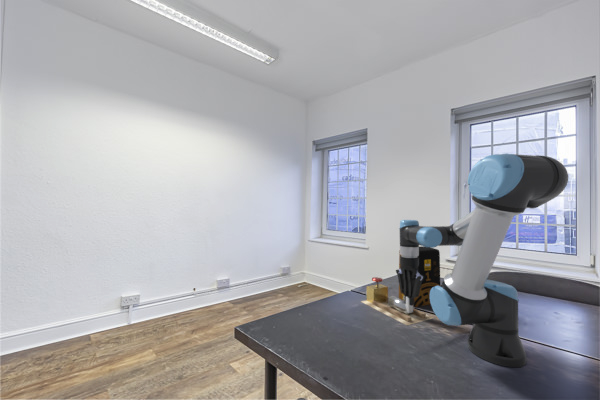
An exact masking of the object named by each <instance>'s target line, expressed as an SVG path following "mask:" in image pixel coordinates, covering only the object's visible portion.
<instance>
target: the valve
mask: <svg viewBox="0 0 600 400" xmlns="http://www.w3.org/2000/svg"><path fill="white" fill-rule="evenodd" d="M371 281H373V282H375V284H372V285H366V290H365V296H366V300H367V301H369V302H371V303H372V301H378V302H380V303H381V302H386V298H389V286H387V285H385V284H382V283H381V282H383V278H382V277H378V276H377V277H376V276H374V277H372V278H371Z"/></svg>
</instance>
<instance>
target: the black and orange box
mask: <svg viewBox="0 0 600 400" xmlns="http://www.w3.org/2000/svg"><path fill="white" fill-rule="evenodd" d="M398 252H399V253H398V255H399V257H398V258H399V259H398V260H399V261H398V269H400V267H401V265H400V256H401V255H400V249H399V251H398ZM440 253H441V252H440V250H439V249H437V248H435V247H434V248H431V247H425V246H419V256H418V258H419V266H418V270H419V274H420V275H421V276H424V279H423V280H422V283H421V288H420V292H419V297H415V298H414V305H413V308H417V307H424V306H431V303H430V290H431V289H432V288H433V287H435V286H441V257H440V256H441V255H440ZM398 298H400V299H402V300H404V301H405V296H404V294H403V293H401V291H400V286H399V285H398Z"/></svg>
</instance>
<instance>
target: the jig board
mask: <svg viewBox="0 0 600 400" xmlns="http://www.w3.org/2000/svg"><path fill="white" fill-rule="evenodd" d="M388 298H389V297H388ZM388 298H386V302H381V303H380V302H378V301H372V303H371V302H369V301H367V299H366V300H365V299H364V300H360V302H361V303H362V304H365V305H366V306H368V307H371V308H372V309H374V310H376V311H378V312H380V313H382V314H384V315H385V316H388V317H389V318H391V319H394V320H395V321H397V322H400V323H401V324H403V325H405V326H410V325H414V324H417V323H422V322H425V321H428V320H432V319H435V317H434V316H431V315H428V314H427V313H426V312H423V311H420V310H418V309H416V308H415V307H413V312H412V314H410V315H407V314H405V313H403V312H401V311H399V310H396V309H394V308H392V307H390V306H389V305H388Z"/></svg>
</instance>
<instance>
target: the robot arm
mask: <svg viewBox="0 0 600 400" xmlns="http://www.w3.org/2000/svg"><path fill="white" fill-rule="evenodd" d="M568 182H569V172H568V170H567V168H566V166H565V165H564V164H563V163H562V162H560V160H558V159H555V158H554V157H550V156H546V155H539V154H538V155H531V154H515V153H502V154H501V153H500V154H499V153H498V154H490V155H486V156H485V157H483V158H481V159H480V160H478V161H477V162H476V163H475V164H474V165H473V166H472V168H471V169H470V171H469V174H468V178H467V186H468V191H469V193H471V195H472V197H471V201H472V202H473V204H474V206H475V208H474V210H472V211H471V212H469V213H468V214H466V215H465V216H463V217H461V218H460V219H458V220H457V221H455V222H454V223H452V224H450V225H448V226H447V225H444V226H434V225H433V226H431V225H430V226H425V225H420V223H419V221H418V220H417V219H401V220H400V222H399V228H398V229H399V250H400V255H401V256H400V265H401V267H400V269H399V268H398V269H396V270H395V272H396V276H397V279H398V287H399V286H400V291H401V293H403V294H404V296H405V303H406V312H407V313H411V312H413V308H414V307H413V305H414V298H415V297H419V292H420V288H421V283H422V280H423V279H424V276H421V275H420V274H419V270H418V266H419V258H418V256H419V247H420V246H421V247H431V248H434V249H435V248H437V247H438V246H439V247H440V246H441V247H443V246H445V247H446V246H454V247H455V246H457V247H460V250H459V252H458V255H457V258H456V260H455V263H454V266H453V269H452V272H451V273H447V274H445V275H444V276H443V279H442V282H441V284H440V286H435V287H433V288H432V289H431V290H430V303H431V304H430V306H431V308H432V311H433V313H434V315H435V316H436V318H437V319H438V320H439V321H440V322H441V323H443V324H445V325H447V326H455V327H458V326H468V325H472V328H471V330H470V332H469V335H468V337H467V348H468V349H469V351H470V352H471V353H472V354H474V355H475V356H477V357H478V358H480V359H483V360H485V361H487V362H489V363H492V364H496V365H498V366H503V367H509V368H521V367H524V366H526V364H527V353H526V351H525V348H524V346H523V342H522V341H521V338H520V335H519V301H520V300H519V299H518V297H519V295H518V290H517V289H516V287H514V286H513V285H510V284H508V283H505V282H501V281H497V280H492V279H488V278H489V275H490V272H491V270H492V268H493V265H494V264H495V261H496V259H497V256H498V254H499V252H500V249H501V247H502V245H503V243H504V240H505V237H506V236H507V233H508V231H509V229H510V226H511V224H512V222H513V218H514V217H515V216H519V215H521V214H523V213H525V211H526V210H527V209H532V210H533V209H534V210H535V209H537V208H539V207H540V206H542V205H545V204H546V203H548V202H551V201H552V200H554V199H555V198H556V197H557V198H558V196H559V195H561V194H562V193H563V192H564V190H565V189H566V187H567V186H568Z"/></svg>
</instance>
